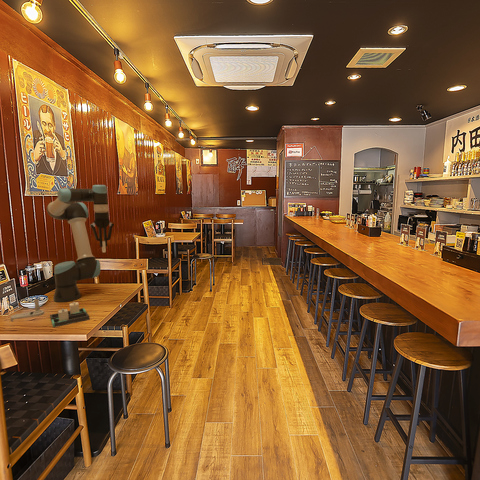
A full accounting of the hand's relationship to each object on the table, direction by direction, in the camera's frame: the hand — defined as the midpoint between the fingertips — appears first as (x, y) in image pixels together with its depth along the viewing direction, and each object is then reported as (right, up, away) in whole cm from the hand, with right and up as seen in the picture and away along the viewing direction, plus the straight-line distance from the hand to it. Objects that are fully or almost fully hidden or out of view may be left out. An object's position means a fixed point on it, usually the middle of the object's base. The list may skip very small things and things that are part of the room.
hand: (104, 252), depth 180 cm
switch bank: (-10, -35, -18) cm, 41 cm away
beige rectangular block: (-10, -33, -14) cm, 37 cm away
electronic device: (-34, -35, -15) cm, 52 cm away
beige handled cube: (-10, -35, -24) cm, 43 cm away
